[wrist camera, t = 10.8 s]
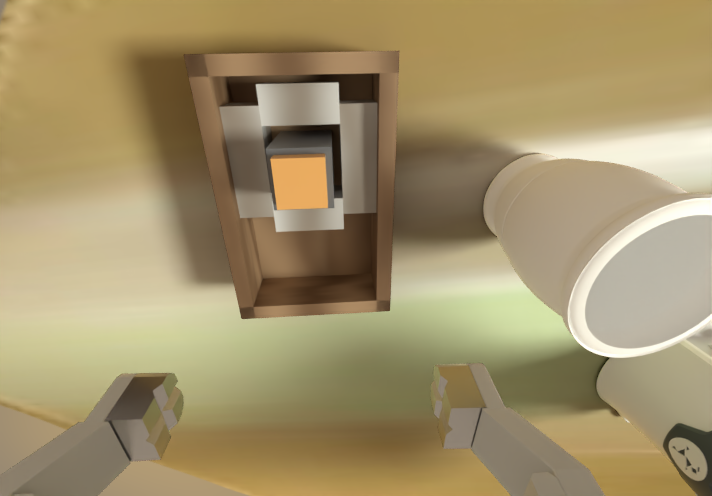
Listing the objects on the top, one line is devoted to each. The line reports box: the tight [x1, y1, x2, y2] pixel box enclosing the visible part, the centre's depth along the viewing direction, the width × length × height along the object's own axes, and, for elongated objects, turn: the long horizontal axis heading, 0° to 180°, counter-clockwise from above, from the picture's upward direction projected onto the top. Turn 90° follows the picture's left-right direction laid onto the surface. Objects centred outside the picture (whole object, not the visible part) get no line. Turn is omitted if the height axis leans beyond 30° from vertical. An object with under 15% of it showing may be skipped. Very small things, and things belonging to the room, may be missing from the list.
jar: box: [483, 154, 712, 358], centre depth 25 cm, size 11×10×15 cm
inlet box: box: [184, 51, 399, 319], centre depth 28 cm, size 13×20×6 cm, turn 1°
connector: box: [266, 130, 334, 210], centre depth 24 cm, size 4×4×8 cm
